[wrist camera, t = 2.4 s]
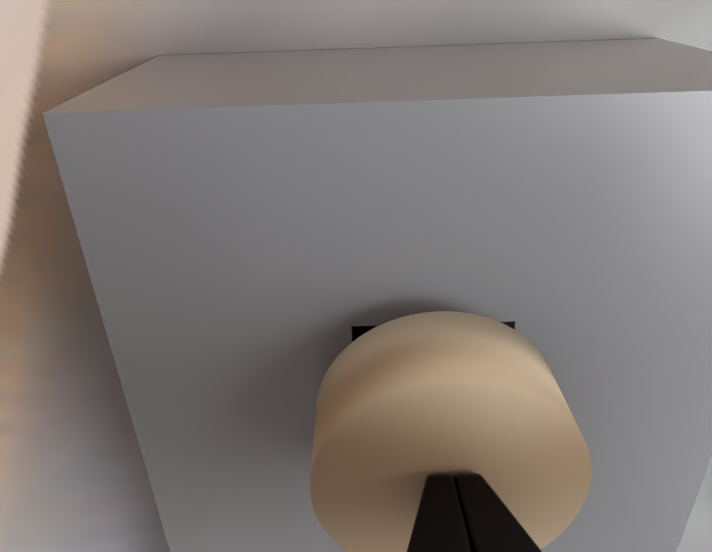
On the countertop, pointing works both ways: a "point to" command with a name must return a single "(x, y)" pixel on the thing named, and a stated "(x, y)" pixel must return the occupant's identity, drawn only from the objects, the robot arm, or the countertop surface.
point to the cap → (442, 429)
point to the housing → (398, 257)
